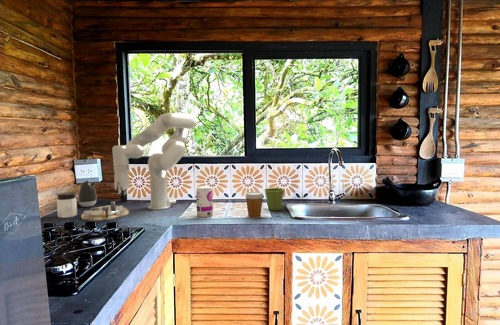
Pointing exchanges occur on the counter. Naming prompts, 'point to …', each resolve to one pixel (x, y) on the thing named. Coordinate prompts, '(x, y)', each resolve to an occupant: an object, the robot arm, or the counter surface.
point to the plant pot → (274, 198)
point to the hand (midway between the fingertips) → (123, 202)
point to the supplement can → (204, 201)
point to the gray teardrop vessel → (87, 194)
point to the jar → (66, 205)
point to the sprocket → (101, 210)
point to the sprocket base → (93, 218)
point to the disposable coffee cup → (254, 203)
